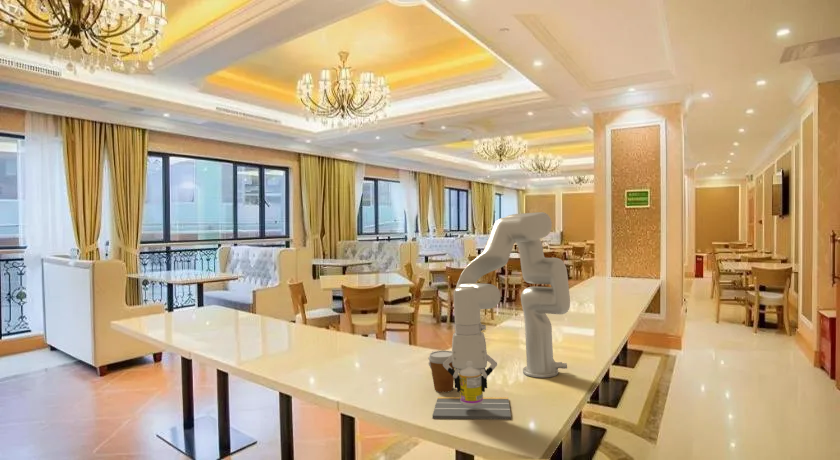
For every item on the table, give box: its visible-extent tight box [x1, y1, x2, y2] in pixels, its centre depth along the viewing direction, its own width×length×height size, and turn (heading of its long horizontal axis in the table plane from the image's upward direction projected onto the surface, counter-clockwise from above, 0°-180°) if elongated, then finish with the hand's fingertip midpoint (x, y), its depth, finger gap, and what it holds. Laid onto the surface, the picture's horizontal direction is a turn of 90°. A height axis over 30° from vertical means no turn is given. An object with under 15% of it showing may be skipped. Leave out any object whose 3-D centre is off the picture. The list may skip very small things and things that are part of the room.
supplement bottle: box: [459, 361, 484, 406], centre depth 132 cm, size 7×7×13 cm
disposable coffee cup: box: [427, 350, 455, 393], centre depth 153 cm, size 10×10×12 cm
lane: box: [432, 396, 512, 420], centre depth 134 cm, size 22×15×1 cm
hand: (471, 389), depth 132 cm, fingers closed on supplement bottle, 6 cm apart
